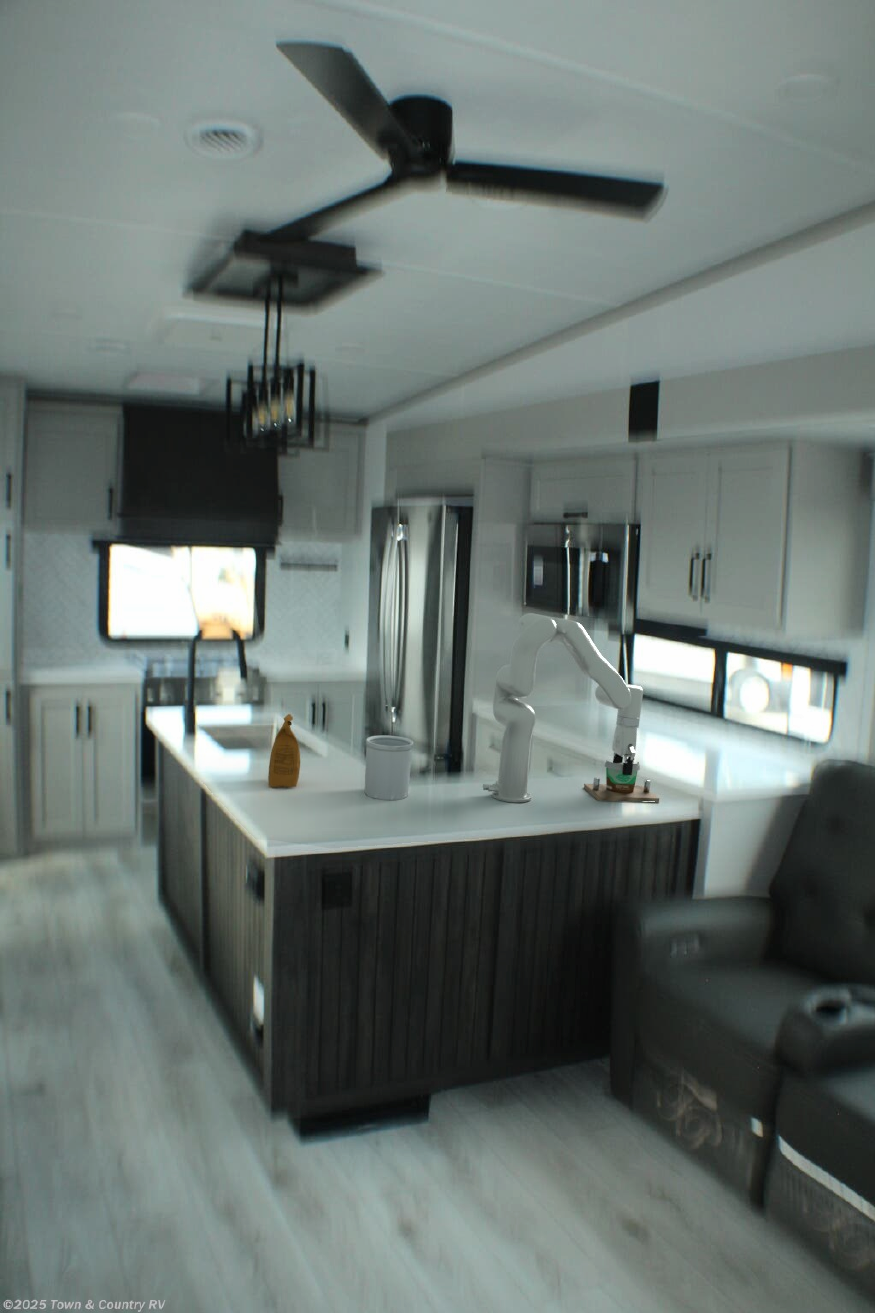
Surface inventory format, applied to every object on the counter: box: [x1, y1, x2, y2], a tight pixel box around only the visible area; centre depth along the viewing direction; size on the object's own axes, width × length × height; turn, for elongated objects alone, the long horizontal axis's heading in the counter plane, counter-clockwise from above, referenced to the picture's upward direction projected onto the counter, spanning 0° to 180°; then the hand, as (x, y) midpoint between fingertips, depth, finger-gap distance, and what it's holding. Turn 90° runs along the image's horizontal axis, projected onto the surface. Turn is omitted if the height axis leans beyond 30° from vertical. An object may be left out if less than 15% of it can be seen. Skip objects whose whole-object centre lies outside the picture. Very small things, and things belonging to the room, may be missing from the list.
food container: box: [604, 759, 641, 794], centre depth 335 cm, size 12×6×10 cm, turn 100°
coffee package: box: [267, 713, 301, 789], centre depth 316 cm, size 10×12×22 cm
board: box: [583, 777, 660, 803], centre depth 337 cm, size 21×16×6 cm
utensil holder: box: [364, 734, 414, 801], centre depth 314 cm, size 15×15×18 cm
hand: (621, 771), depth 336 cm, fingers open, 9 cm apart
